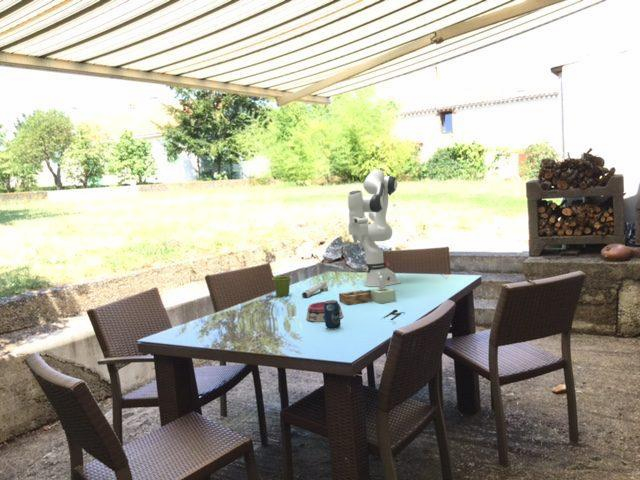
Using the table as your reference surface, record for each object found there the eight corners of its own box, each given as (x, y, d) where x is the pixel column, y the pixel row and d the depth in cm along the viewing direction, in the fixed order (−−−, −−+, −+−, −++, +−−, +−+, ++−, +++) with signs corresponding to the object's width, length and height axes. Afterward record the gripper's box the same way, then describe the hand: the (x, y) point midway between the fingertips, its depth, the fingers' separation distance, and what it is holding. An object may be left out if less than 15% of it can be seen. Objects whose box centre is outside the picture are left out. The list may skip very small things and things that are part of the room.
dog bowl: (351, 316, 261) (350, 302, 260) (325, 324, 247) (324, 310, 247) (324, 312, 273) (323, 299, 273) (298, 320, 260) (297, 306, 260)
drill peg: (384, 299, 291) (383, 274, 289) (387, 300, 287) (385, 275, 286) (378, 300, 290) (377, 275, 288) (381, 301, 286) (379, 276, 285)
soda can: (335, 329, 236) (333, 303, 235) (322, 328, 240) (320, 302, 239) (343, 326, 242) (341, 300, 241) (330, 325, 245) (328, 299, 244)
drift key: (376, 297, 298) (376, 288, 298) (378, 298, 296) (378, 289, 296) (357, 300, 294) (356, 291, 294) (359, 301, 292) (358, 292, 292)
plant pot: (270, 297, 324) (268, 279, 323) (278, 293, 335) (277, 276, 334) (287, 297, 319) (285, 279, 318) (295, 293, 330) (294, 276, 329)
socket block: (362, 297, 301) (361, 290, 300) (371, 301, 289) (370, 293, 289) (339, 301, 296) (338, 293, 296) (347, 305, 285) (346, 297, 284)
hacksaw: (394, 312, 263) (394, 309, 263) (413, 313, 257) (413, 310, 257) (372, 324, 243) (372, 320, 242) (393, 325, 237) (393, 322, 237)
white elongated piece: (300, 292, 315) (321, 278, 335) (302, 302, 316) (323, 288, 336) (307, 292, 312) (328, 278, 332) (309, 302, 313) (330, 289, 334)
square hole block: (387, 298, 295) (386, 287, 294) (395, 301, 285) (395, 290, 285) (371, 300, 292) (370, 289, 291) (379, 303, 282) (378, 292, 282)
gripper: (345, 219, 310) (347, 242, 311) (359, 220, 290) (360, 245, 292) (355, 218, 312) (356, 241, 313) (369, 219, 292) (371, 243, 294)
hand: (358, 243), depth 302 cm, fingers open, 8 cm apart
